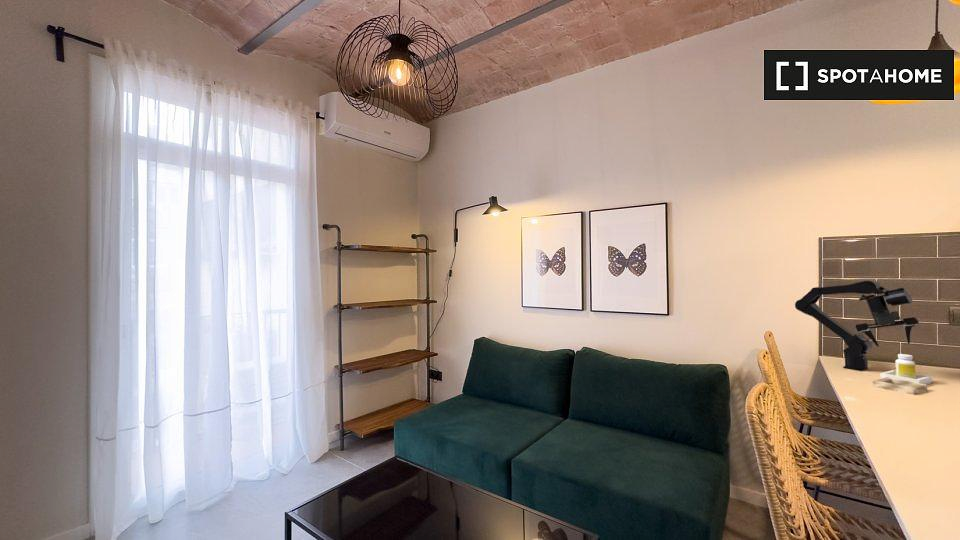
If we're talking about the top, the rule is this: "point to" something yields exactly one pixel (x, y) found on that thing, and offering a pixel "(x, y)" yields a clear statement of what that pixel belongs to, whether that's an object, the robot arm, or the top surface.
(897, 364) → the supplement bottle
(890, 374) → the plastic tray
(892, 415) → the top surface
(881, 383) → the wooden square frame
